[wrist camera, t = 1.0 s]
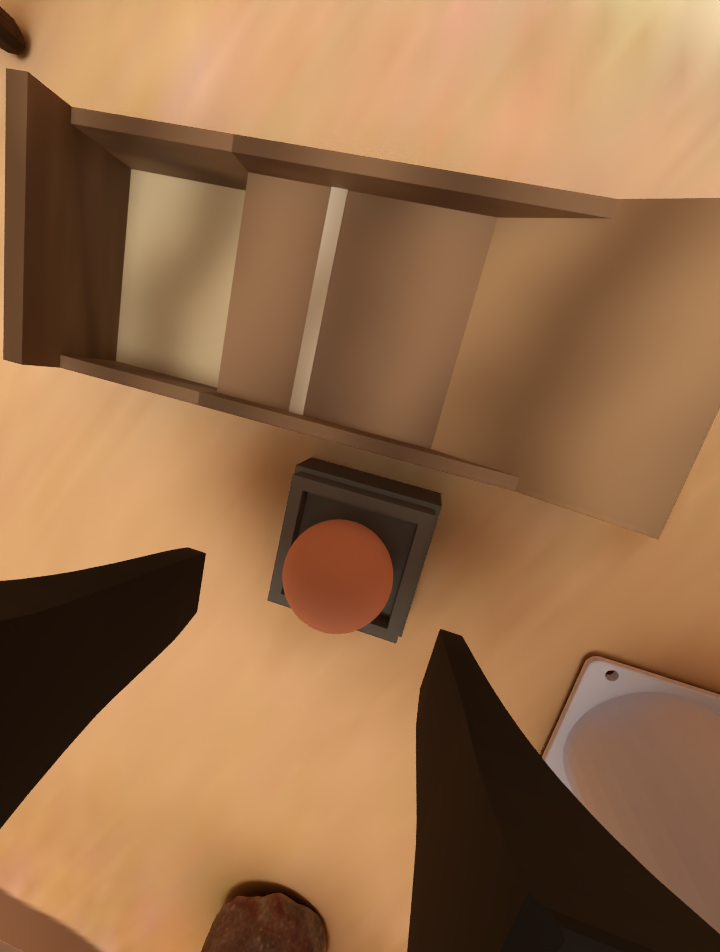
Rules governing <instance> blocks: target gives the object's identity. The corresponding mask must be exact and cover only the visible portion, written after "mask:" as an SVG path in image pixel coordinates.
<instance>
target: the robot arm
mask: <svg viewBox="0 0 720 952" xmlns="http://www.w3.org/2000/svg"><path fill="white" fill-rule="evenodd" d="M205 556H206V553H203V552H200V551H197V550H194V549H191V548H180V549H175V550H170V551H165V552H161V553H156V554H152V555H148V556H144V557H139V558H135V559H131V560H126V561H122V562H118V563H113V564H108V565H103V566H98V567H94V568H89V569H84V570H79V571H74V572H68V573H62V574H56V575H49V576H42V577H34V578H26V579H18V580H7V581H0V828H1V827H2V826H3V825H4V824H5V822H6V821H7V820H8V819H9V817H10V816H11V815H12V814H13V812H14V811H15V810H16V809H17V807H18V806H19V805H20V804H21V802H22V801H23V800H24V799H25V797H26V796H27V795H28V794H29V793H30V791H31V790H32V789H33V788H34V787H35V785H36V784H37V783H38V782H39V781H40V779H41V778H42V777H43V776H44V775H45V774H46V772H47V771H48V770H49V769H50V768H51V766H52V765H53V764H54V763H55V762H56V761H57V759H58V758H59V757H60V756H61V755H62V753H63V752H64V751H65V750H66V749H67V748H68V747H69V745H70V744H71V743H72V742H73V741H74V740H75V739H76V738H77V736H78V735H79V734H80V733H81V732H82V731H83V730H84V728H85V727H86V726H87V725H88V724H89V723H90V722H91V721H92V719H93V718H94V717H95V716H96V715H97V714H98V713H99V712H100V711H101V710H102V709H103V708H104V707H105V706H106V705H107V704H108V703H109V702H110V701H111V700H112V699H113V698H114V697H115V696H116V695H117V694H118V693H119V692H120V691H121V690H122V689H123V688H125V687H126V686H127V685H128V684H129V683H130V682H131V681H132V680H133V679H134V678H135V677H136V676H137V675H138V674H139V673H140V672H141V671H142V670H143V669H145V668H146V667H147V666H148V665H149V664H150V663H151V662H152V661H153V660H154V659H155V658H156V657H157V656H158V655H159V654H160V653H161V652H162V651H163V650H164V649H165V648H166V647H167V646H168V645H169V644H171V643H172V642H173V641H174V640H175V638H176V637H177V636H178V635H179V634H180V632H181V631H182V630H183V629H184V628H185V626H186V625H187V624H188V623H189V621H190V620H191V619H192V617H193V616H194V615H195V614H196V612H197V609H198V602H199V595H200V589H201V582H202V576H203V569H204V562H205ZM610 670H614V672H613V673H612V674H610V675H607V674H605V673H606V672H607V671H610ZM416 793H417V828H416V851H415V864H414V878H413V891H412V903H411V915H410V926H409V938H408V949H407V952H720V694H717V693H714V692H710V691H707V690H704V689H701V688H698V687H695V686H692V685H688V684H685V683H682V682H679V681H676V680H673V679H669V678H666V677H663V676H660V675H657V674H654V673H651V672H647V671H644V670H641V669H638V668H635V667H632V666H629V665H625V664H622V663H619V662H616V661H613V660H610V659H607V658H603V657H599V656H593V657H590V658H588V659H587V660H586V661H585V663H584V665H583V667H582V669H581V672H580V674H579V676H578V678H577V680H576V683H575V685H574V687H573V689H572V691H571V694H570V696H569V698H568V700H567V703H566V705H565V707H564V709H563V711H562V714H561V716H560V718H559V720H558V722H557V725H556V727H555V729H554V731H553V734H552V736H551V738H550V740H549V742H548V745H547V747H546V749H545V751H544V753H543V756H542V757H541V756H540V755H539V753H538V752H537V751H536V750H535V748H534V747H533V746H532V745H531V743H530V742H529V741H528V739H527V738H526V737H525V735H524V734H523V733H522V731H521V730H520V729H519V727H518V726H517V724H516V723H515V721H514V720H513V719H512V717H511V716H510V714H509V713H508V711H507V710H506V709H505V707H504V705H503V704H502V702H501V701H500V699H499V698H498V696H497V695H496V693H495V692H494V690H493V688H492V687H491V685H490V684H489V682H488V680H487V679H486V677H485V675H484V674H483V672H482V670H481V668H480V667H479V665H478V663H477V662H476V660H475V658H474V656H473V655H472V653H471V651H470V649H469V647H468V646H467V644H466V642H465V640H464V639H463V637H462V636H460V635H457V634H454V633H451V632H448V631H445V630H442V629H440V631H439V634H438V637H437V640H436V643H435V646H434V649H433V652H432V655H431V658H430V661H429V664H428V667H427V670H426V673H425V676H424V679H423V682H422V685H421V688H420V694H419V703H418V712H417V722H416ZM0 952H23V951H21V950H19V949H17V948H15V947H13V946H11V945H9V944H7V943H5V942H3V941H1V940H0Z"/></svg>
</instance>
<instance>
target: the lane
mask: <svg viewBox="0 0 720 952" xmlns="http://www.w3.org/2000/svg"><path fill="white" fill-rule="evenodd" d="M3 360H7V361H11V362H14V363H18V364H22V365H35V366H47V367H60V368H64V369H67V370H71V371H75V372H78V373H82V374H86V375H89V376H93V377H97V378H100V379H104V380H108V381H111V382H115V383H119V384H122V385H126V386H130V387H134V388H137V389H141V390H145V391H148V392H152V393H156V394H159V395H163V396H167V397H170V398H174V399H178V400H181V401H185V402H189V403H192V404H196V405H200V406H203V407H207V408H211V409H214V410H218V411H222V412H225V413H229V414H233V415H237V416H240V417H244V418H248V419H251V420H255V421H259V422H262V423H266V424H270V425H273V426H277V427H281V428H284V429H288V430H292V431H295V432H299V433H303V434H306V435H310V436H314V437H317V438H321V439H325V440H329V441H332V442H336V443H340V444H343V445H347V446H351V447H354V448H358V449H362V450H365V451H369V452H373V453H376V454H380V455H384V456H387V457H391V458H395V459H398V460H402V461H406V462H409V463H413V464H417V465H420V466H424V467H428V468H432V469H435V470H439V471H443V472H446V473H450V474H454V475H457V476H461V477H465V478H468V479H472V480H476V481H479V482H483V483H487V484H490V485H494V486H498V487H501V488H505V489H509V490H512V491H516V492H519V493H522V494H525V495H528V496H531V497H534V498H537V499H540V500H543V501H546V502H549V503H552V504H555V505H558V506H560V507H563V508H566V509H569V510H572V511H575V512H578V513H581V514H584V515H587V516H590V517H593V518H596V519H599V520H602V521H605V522H608V523H611V524H614V525H617V526H620V527H623V528H626V529H629V530H632V531H635V532H638V533H641V534H644V535H647V536H650V537H653V538H656V539H659V537H660V535H661V533H662V531H663V528H664V526H665V524H666V522H667V520H668V518H669V516H670V513H671V511H672V509H673V507H674V505H675V503H676V500H677V498H678V496H679V494H680V492H681V490H682V488H683V485H684V483H685V481H686V479H687V477H688V475H689V472H690V470H691V468H692V466H693V464H694V462H695V460H696V457H697V455H698V453H699V451H700V449H701V447H702V445H703V442H704V440H705V438H706V436H707V434H708V432H709V429H710V427H711V425H712V423H713V421H714V419H715V417H716V414H717V412H718V410H719V408H720V198H686V199H613V198H607V197H601V196H595V195H590V194H584V193H578V192H572V191H566V190H560V189H554V188H548V187H542V186H536V185H530V184H525V183H519V182H513V181H507V180H501V179H495V178H489V177H483V176H477V175H471V174H465V173H460V172H454V171H448V170H442V169H436V168H430V167H424V166H418V165H412V164H406V163H400V162H395V161H389V160H383V159H377V158H371V157H365V156H359V155H353V154H347V153H341V152H335V151H330V150H324V149H318V148H312V147H306V146H300V145H294V144H288V143H282V142H276V141H270V140H265V139H259V138H253V137H247V136H241V135H235V134H229V133H223V132H217V131H211V130H205V129H200V128H194V127H188V126H182V125H176V124H170V123H164V122H158V121H152V120H146V119H140V118H135V117H129V116H123V115H117V114H111V113H105V112H99V111H93V110H87V109H81V108H75V107H71V106H70V105H69V104H67V103H66V102H65V101H64V100H62V99H61V98H60V97H59V96H57V95H56V94H55V93H54V92H52V91H51V90H50V89H49V88H47V87H46V86H45V85H44V84H42V83H41V82H40V81H39V80H37V79H36V78H35V77H34V76H32V75H31V74H30V73H29V72H26V71H20V70H14V69H7V68H6V141H5V244H4V346H3Z"/></svg>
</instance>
